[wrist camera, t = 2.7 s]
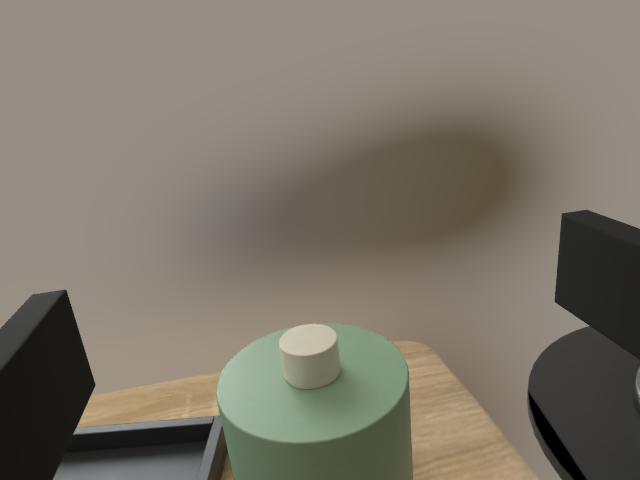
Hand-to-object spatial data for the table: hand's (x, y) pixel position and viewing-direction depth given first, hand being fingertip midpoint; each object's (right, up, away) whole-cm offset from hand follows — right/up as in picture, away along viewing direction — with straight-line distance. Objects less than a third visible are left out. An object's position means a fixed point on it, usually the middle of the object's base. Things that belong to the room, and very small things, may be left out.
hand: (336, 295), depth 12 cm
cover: (0, -15, +16) cm, 21 cm away
